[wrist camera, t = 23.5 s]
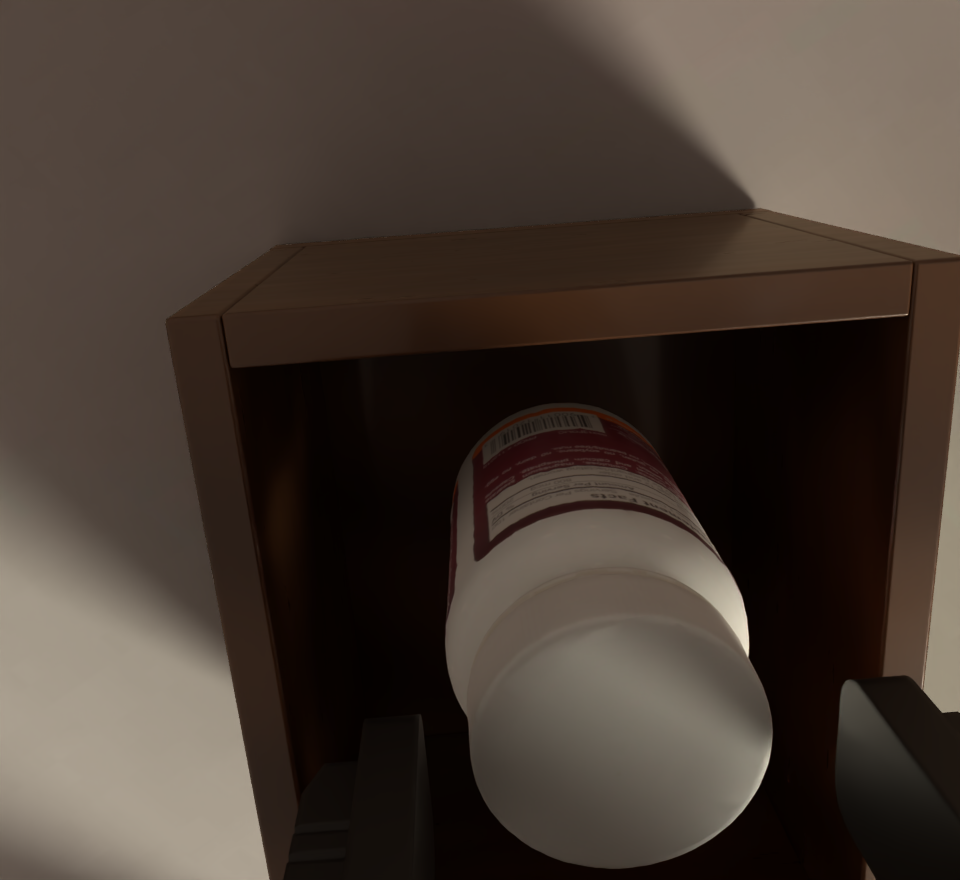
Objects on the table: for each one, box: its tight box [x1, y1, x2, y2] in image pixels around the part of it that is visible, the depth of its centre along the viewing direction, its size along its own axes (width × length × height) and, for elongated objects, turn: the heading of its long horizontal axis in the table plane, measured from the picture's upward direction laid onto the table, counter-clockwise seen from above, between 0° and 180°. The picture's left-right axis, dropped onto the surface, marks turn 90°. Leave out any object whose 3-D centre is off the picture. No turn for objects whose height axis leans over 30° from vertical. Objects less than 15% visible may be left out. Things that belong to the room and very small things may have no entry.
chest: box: [165, 208, 960, 880], centre depth 21 cm, size 16×13×10 cm
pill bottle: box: [445, 403, 773, 869], centre depth 16 cm, size 5×5×8 cm
